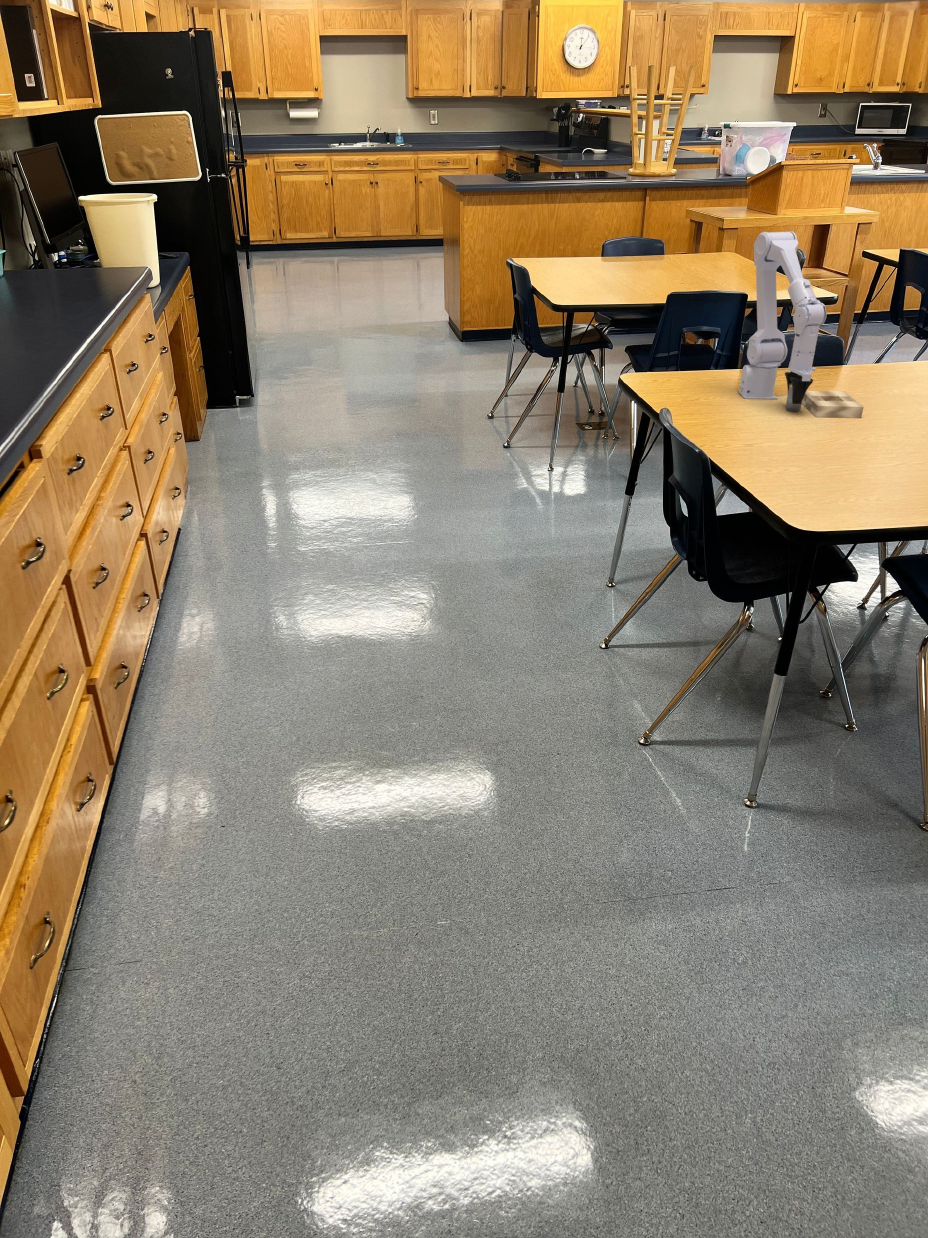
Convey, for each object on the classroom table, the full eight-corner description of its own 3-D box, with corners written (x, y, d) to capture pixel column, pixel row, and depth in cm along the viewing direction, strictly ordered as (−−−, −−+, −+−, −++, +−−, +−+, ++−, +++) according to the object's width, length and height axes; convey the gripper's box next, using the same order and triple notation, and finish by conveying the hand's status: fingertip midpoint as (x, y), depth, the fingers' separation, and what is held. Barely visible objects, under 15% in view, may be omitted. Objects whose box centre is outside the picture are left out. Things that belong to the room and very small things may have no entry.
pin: (787, 411, 246) (791, 386, 243) (783, 407, 250) (787, 382, 246) (801, 412, 246) (806, 386, 243) (798, 408, 250) (802, 382, 246)
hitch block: (815, 416, 242) (818, 405, 241) (799, 401, 256) (801, 390, 255) (861, 417, 241) (863, 406, 240) (842, 401, 255) (845, 391, 254)
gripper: (826, 357, 234) (816, 408, 240) (811, 345, 246) (801, 394, 253) (799, 356, 234) (789, 408, 241) (785, 344, 247) (776, 394, 253)
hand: (794, 401), depth 247 cm, fingers closed on pin, 4 cm apart
